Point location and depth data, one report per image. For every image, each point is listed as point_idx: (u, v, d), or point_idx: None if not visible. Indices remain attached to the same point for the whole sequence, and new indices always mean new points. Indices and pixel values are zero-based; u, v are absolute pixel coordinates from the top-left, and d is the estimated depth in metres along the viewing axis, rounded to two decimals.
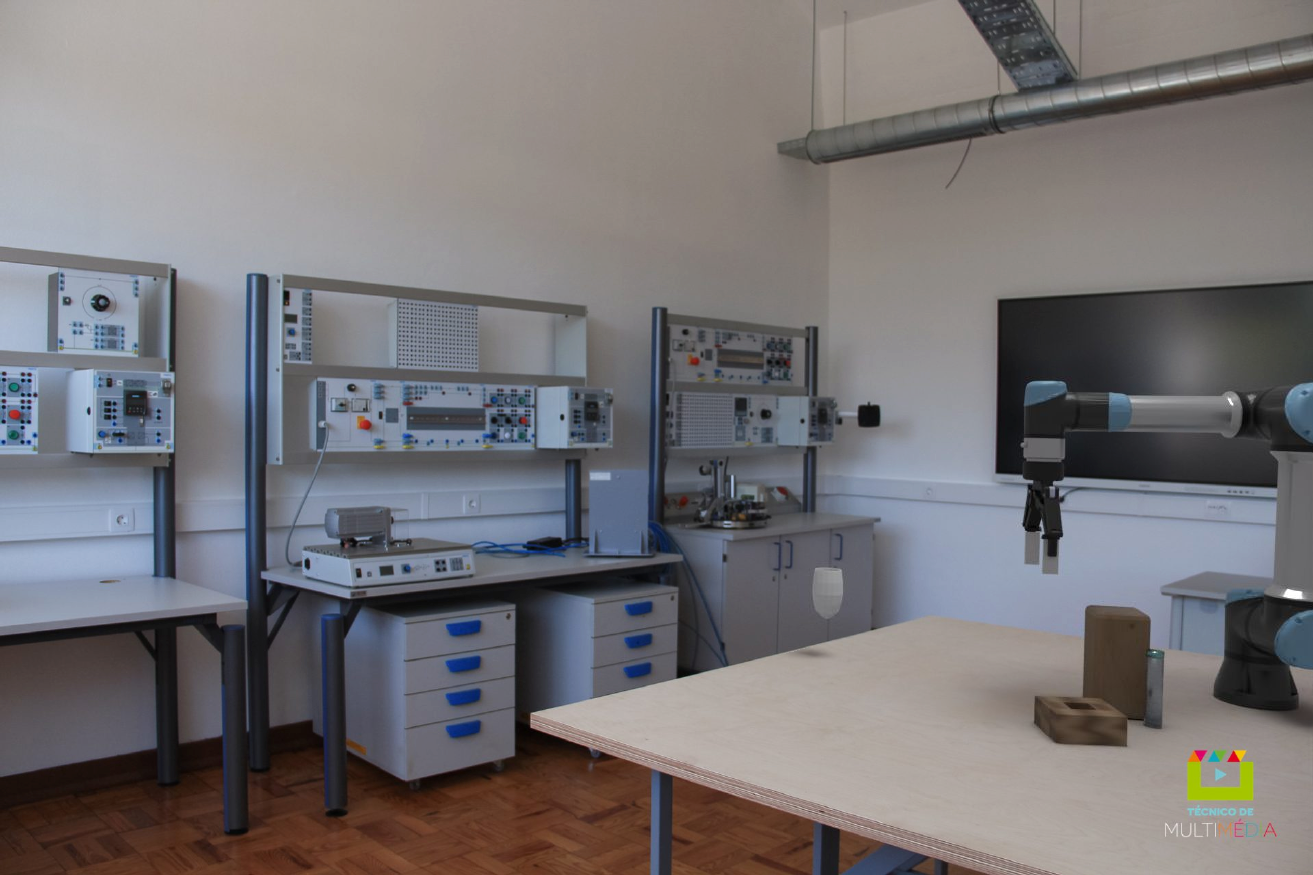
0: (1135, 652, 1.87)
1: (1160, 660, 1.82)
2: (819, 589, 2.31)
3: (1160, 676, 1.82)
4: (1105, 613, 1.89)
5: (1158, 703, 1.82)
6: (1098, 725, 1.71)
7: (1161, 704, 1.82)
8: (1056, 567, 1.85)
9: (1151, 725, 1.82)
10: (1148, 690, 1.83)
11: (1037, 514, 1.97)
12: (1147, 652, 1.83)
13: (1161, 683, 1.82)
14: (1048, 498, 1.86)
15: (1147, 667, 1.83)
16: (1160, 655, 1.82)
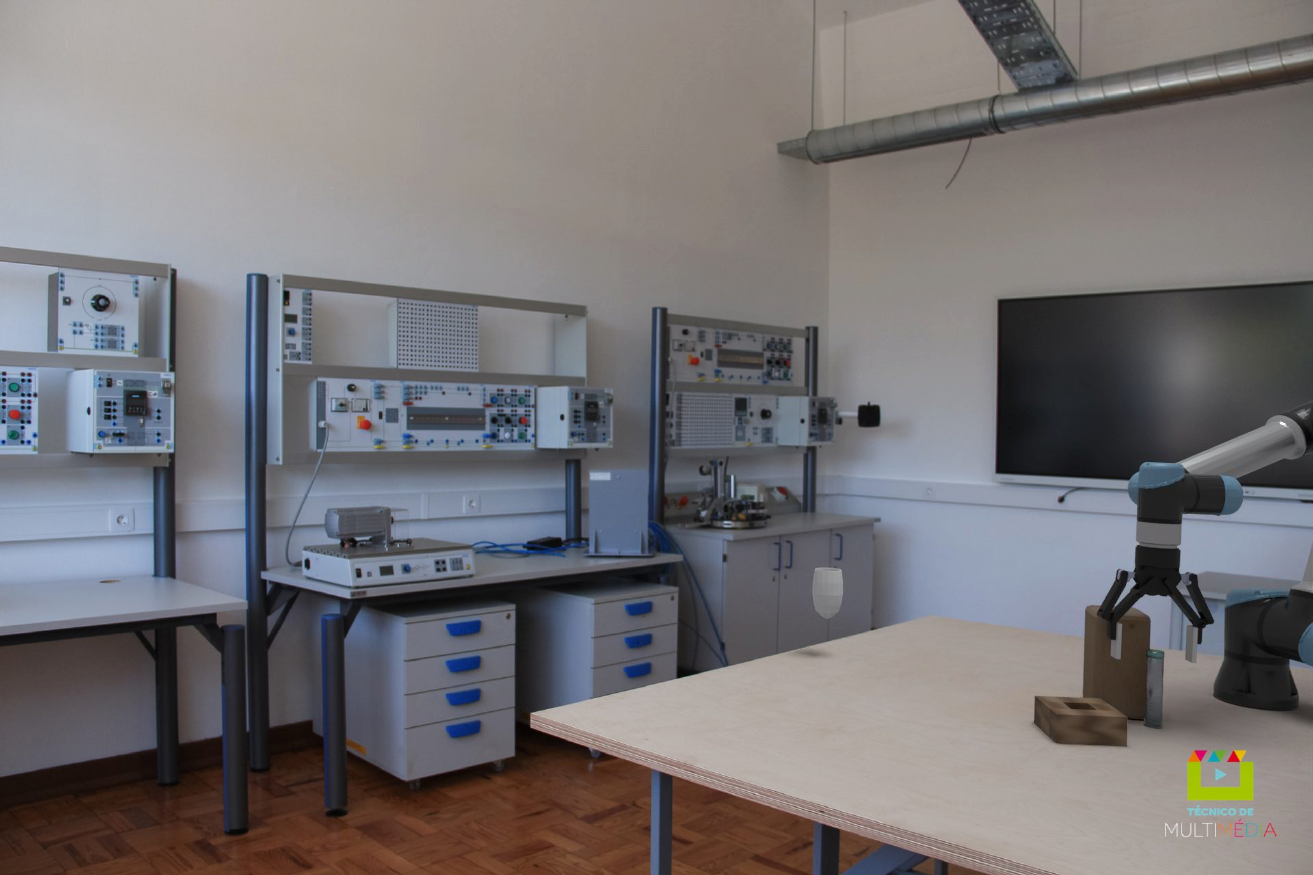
0: (1135, 652, 1.87)
1: (1160, 660, 1.82)
2: (819, 589, 2.31)
3: (1160, 676, 1.82)
4: None
5: (1158, 703, 1.82)
6: (1098, 725, 1.71)
7: (1161, 704, 1.82)
8: (1115, 651, 1.83)
9: (1151, 725, 1.82)
10: (1148, 690, 1.83)
11: (1180, 605, 1.83)
12: (1147, 652, 1.83)
13: (1161, 683, 1.82)
14: (1116, 580, 1.84)
15: (1147, 667, 1.83)
16: (1160, 655, 1.82)
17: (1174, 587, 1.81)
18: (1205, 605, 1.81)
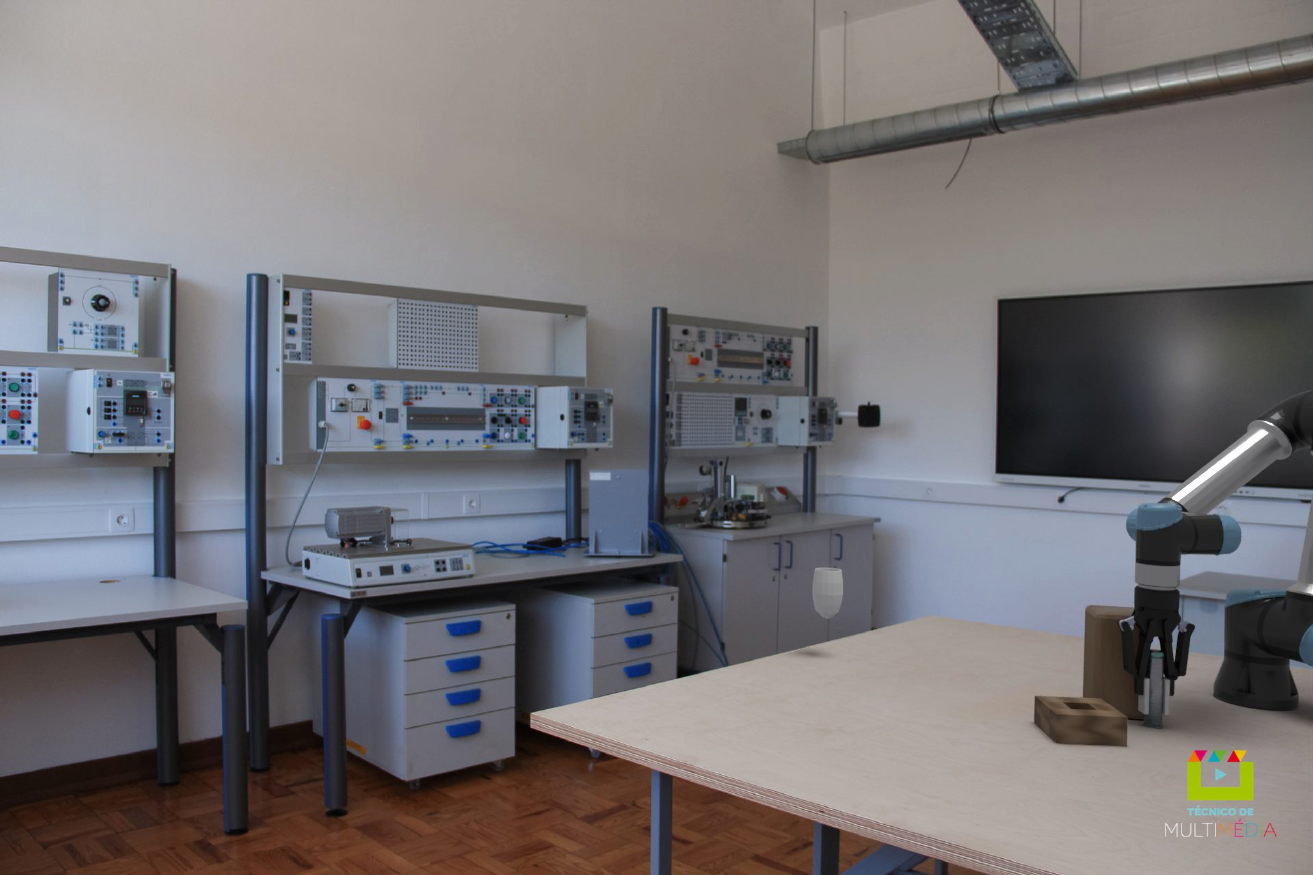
0: (1135, 652, 1.87)
1: (1160, 660, 1.82)
2: (819, 589, 2.31)
3: (1160, 676, 1.82)
4: (1105, 613, 1.89)
5: (1159, 703, 1.82)
6: (1098, 725, 1.71)
7: (1161, 704, 1.82)
8: (1143, 706, 1.82)
9: (1151, 725, 1.82)
10: None
11: (1164, 651, 1.83)
12: None
13: (1161, 683, 1.82)
14: (1122, 632, 1.84)
15: (1147, 667, 1.83)
16: (1160, 655, 1.82)
17: (1169, 631, 1.81)
18: (1186, 657, 1.82)
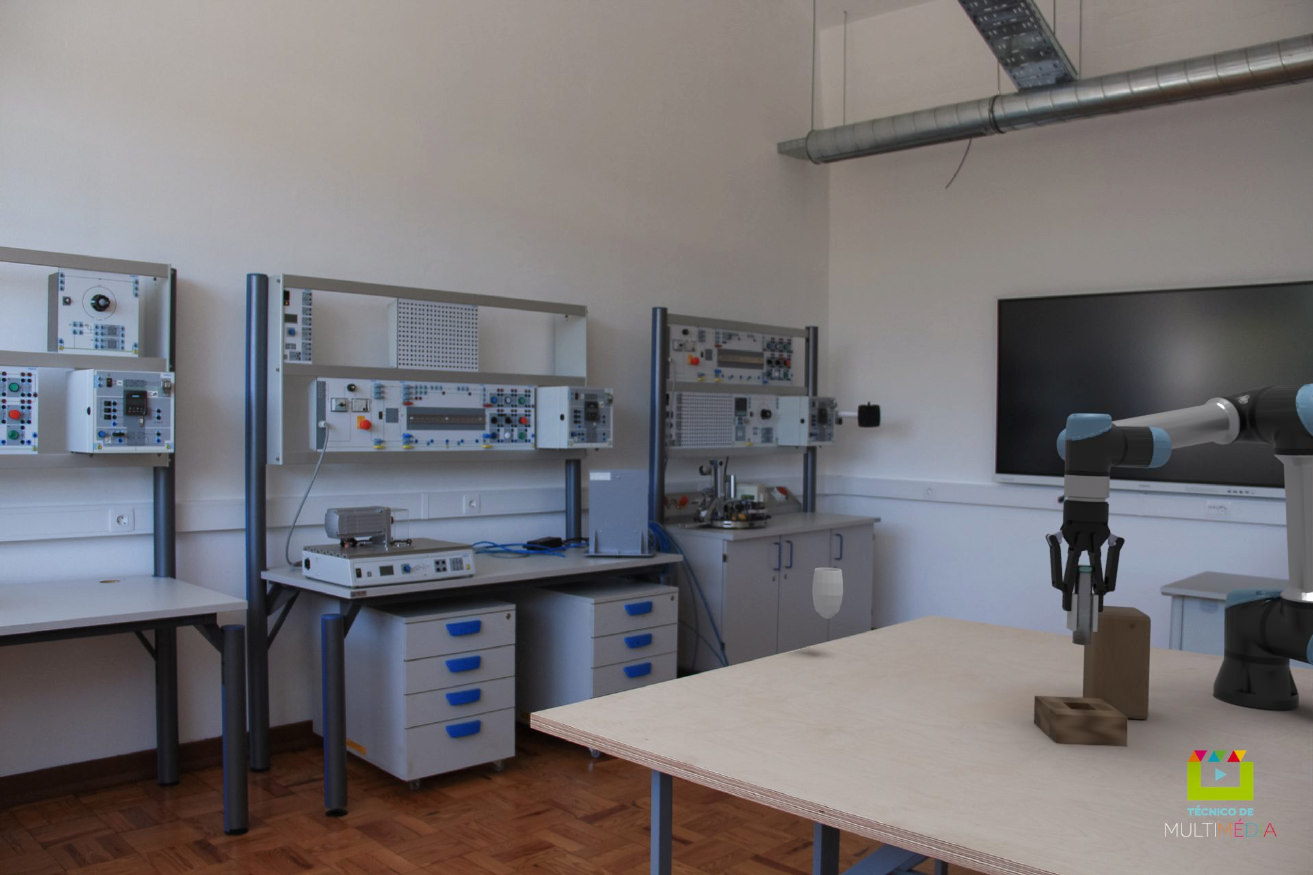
0: (1135, 652, 1.87)
1: (1088, 574, 1.76)
2: (819, 589, 2.31)
3: (1089, 591, 1.76)
4: (1105, 613, 1.89)
5: (1087, 619, 1.76)
6: (1098, 725, 1.71)
7: (1089, 620, 1.76)
8: (1071, 623, 1.76)
9: (1079, 642, 1.76)
10: (1077, 606, 1.77)
11: None
12: None
13: (1089, 598, 1.76)
14: (1050, 547, 1.78)
15: (1075, 582, 1.77)
16: (1088, 570, 1.76)
17: (1098, 544, 1.75)
18: (1115, 571, 1.76)
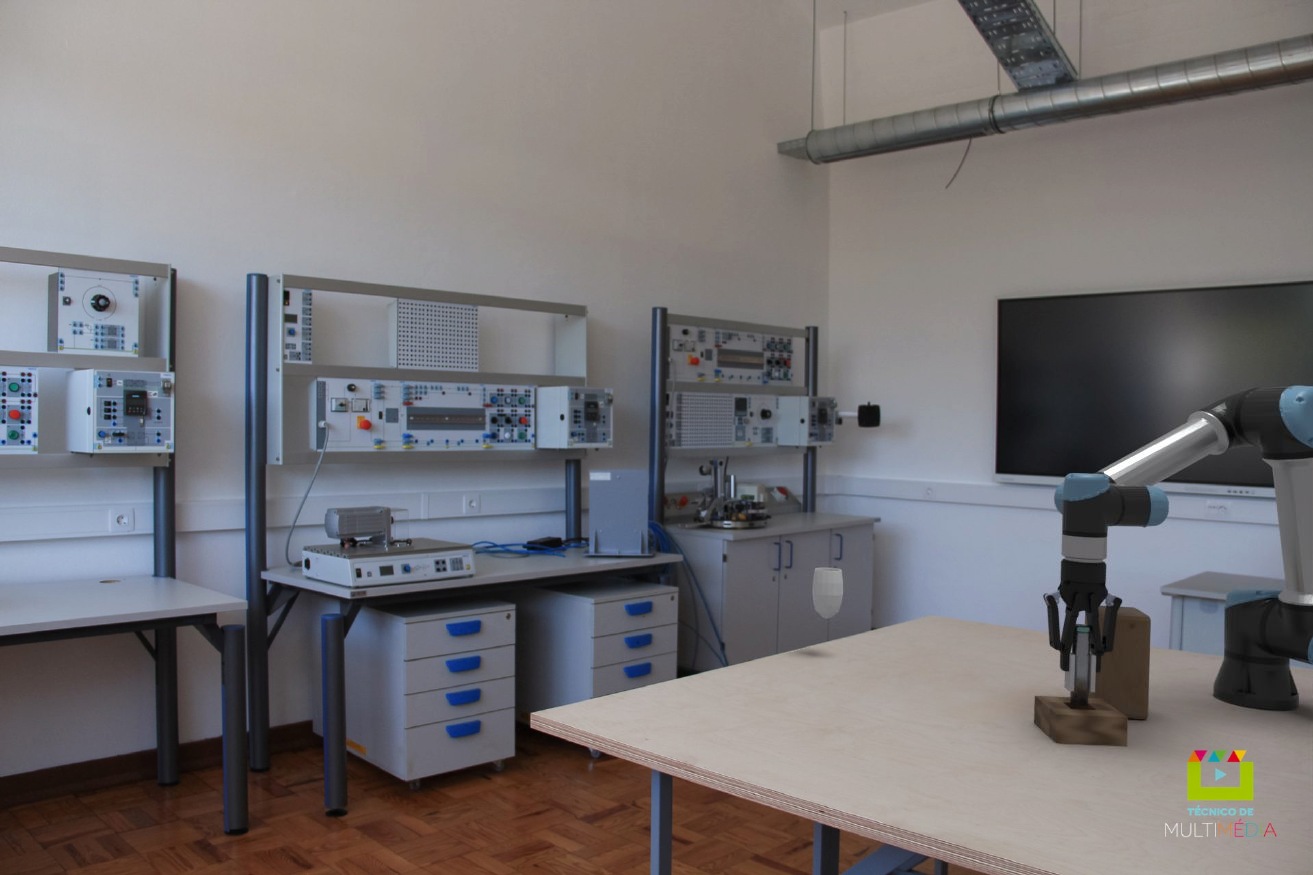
0: (1135, 652, 1.87)
1: (1086, 635, 1.76)
2: (819, 589, 2.31)
3: (1086, 651, 1.76)
4: None
5: (1084, 679, 1.76)
6: (1098, 725, 1.71)
7: (1087, 680, 1.76)
8: (1069, 683, 1.76)
9: (1077, 702, 1.76)
10: None
11: (1090, 625, 1.77)
12: None
13: (1087, 659, 1.76)
14: (1047, 606, 1.78)
15: (1073, 642, 1.77)
16: (1086, 630, 1.76)
17: (1096, 605, 1.75)
18: (1113, 632, 1.76)
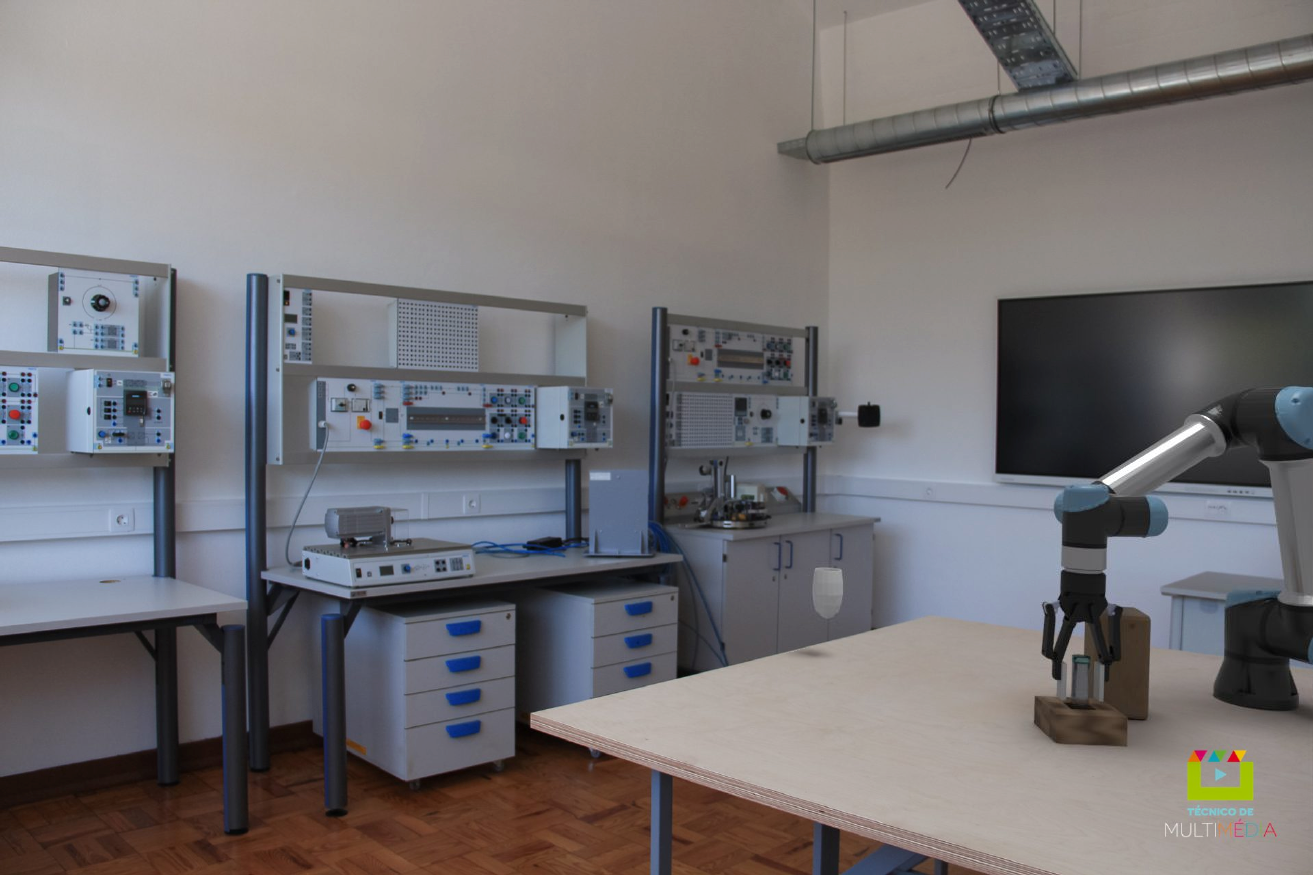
0: (1135, 652, 1.87)
1: (1086, 666, 1.76)
2: (819, 589, 2.31)
3: (1086, 682, 1.76)
4: (1105, 613, 1.89)
5: None
6: (1098, 725, 1.71)
7: None
8: (1061, 692, 1.77)
9: None
10: (1074, 696, 1.77)
11: (1095, 636, 1.77)
12: (1073, 657, 1.77)
13: (1087, 689, 1.76)
14: (1045, 615, 1.78)
15: (1073, 673, 1.77)
16: (1086, 661, 1.76)
17: (1097, 615, 1.75)
18: (1118, 641, 1.76)
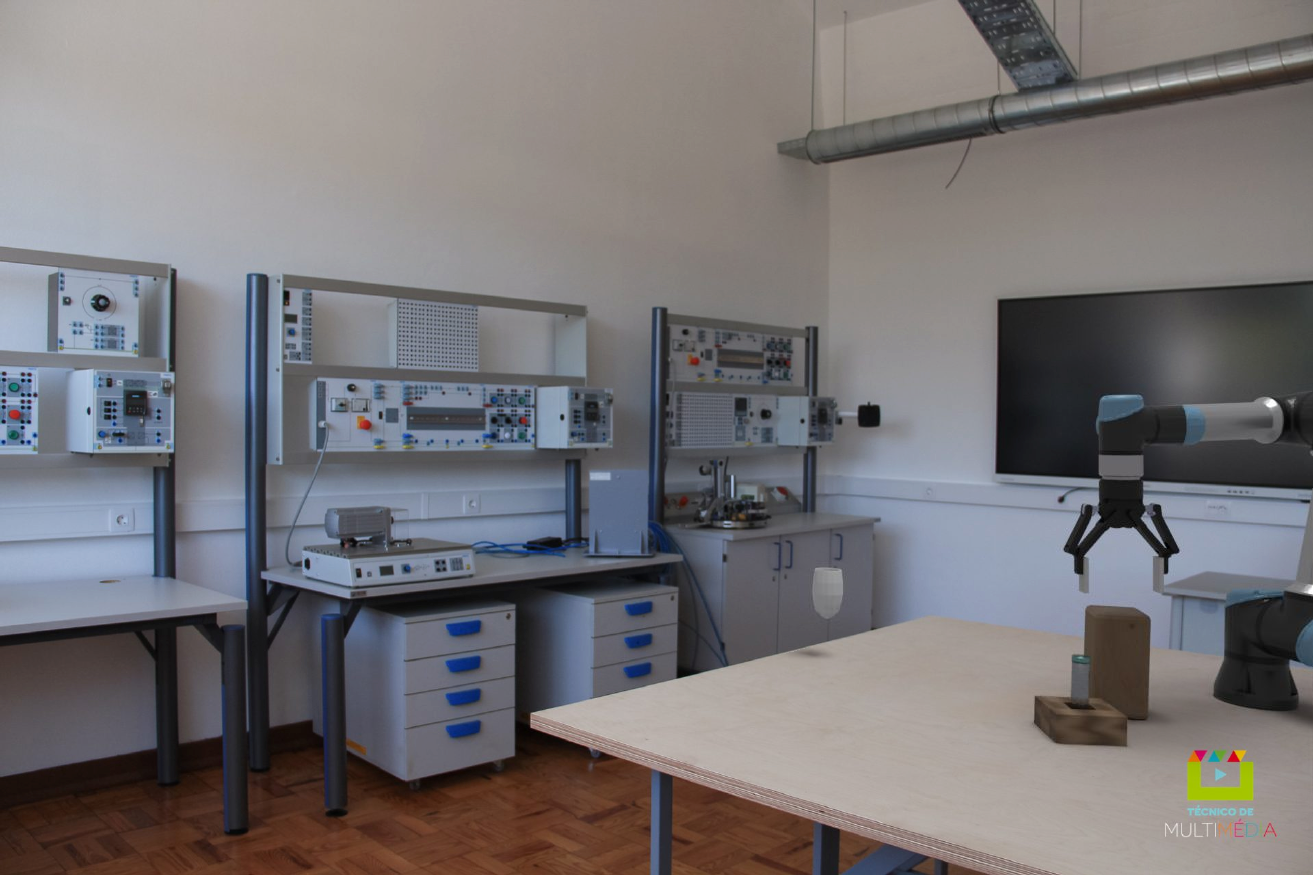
0: (1135, 652, 1.87)
1: (1086, 666, 1.76)
2: (819, 589, 2.31)
3: (1086, 682, 1.76)
4: (1105, 613, 1.89)
5: None
6: (1098, 725, 1.71)
7: None
8: (1083, 585, 1.83)
9: None
10: (1074, 697, 1.77)
11: (1145, 537, 1.83)
12: (1073, 657, 1.77)
13: (1087, 689, 1.76)
14: (1080, 515, 1.84)
15: (1073, 673, 1.77)
16: (1085, 661, 1.76)
17: (1138, 518, 1.81)
18: (1170, 535, 1.82)
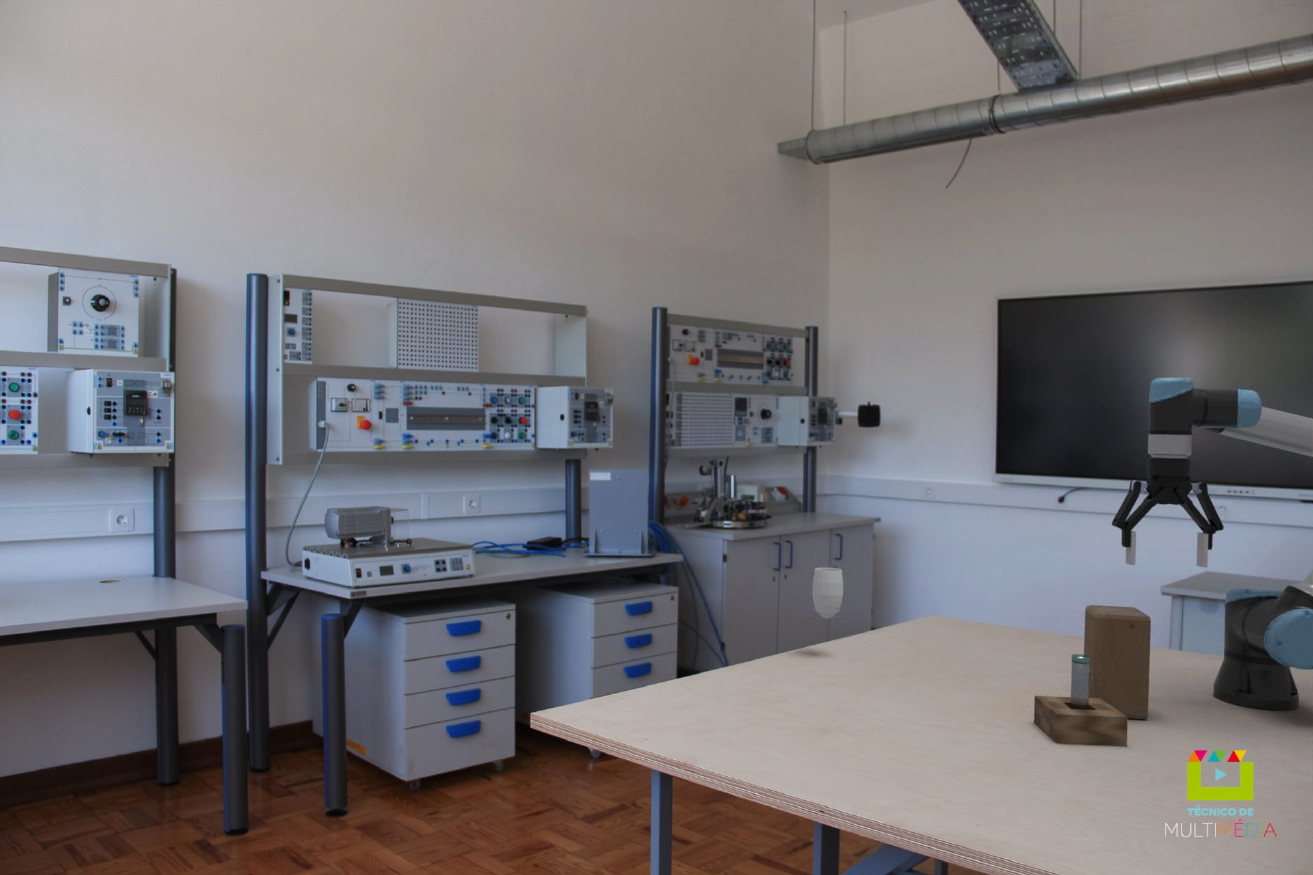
0: (1135, 652, 1.87)
1: (1085, 666, 1.76)
2: (819, 589, 2.31)
3: (1086, 682, 1.76)
4: (1105, 613, 1.89)
5: None
6: (1098, 725, 1.71)
7: None
8: (1130, 558, 1.92)
9: None
10: (1074, 697, 1.77)
11: (1191, 513, 1.92)
12: (1073, 657, 1.77)
13: (1087, 689, 1.76)
14: (1129, 491, 1.94)
15: (1073, 673, 1.77)
16: (1085, 661, 1.76)
17: (1185, 495, 1.91)
18: (1215, 512, 1.91)
